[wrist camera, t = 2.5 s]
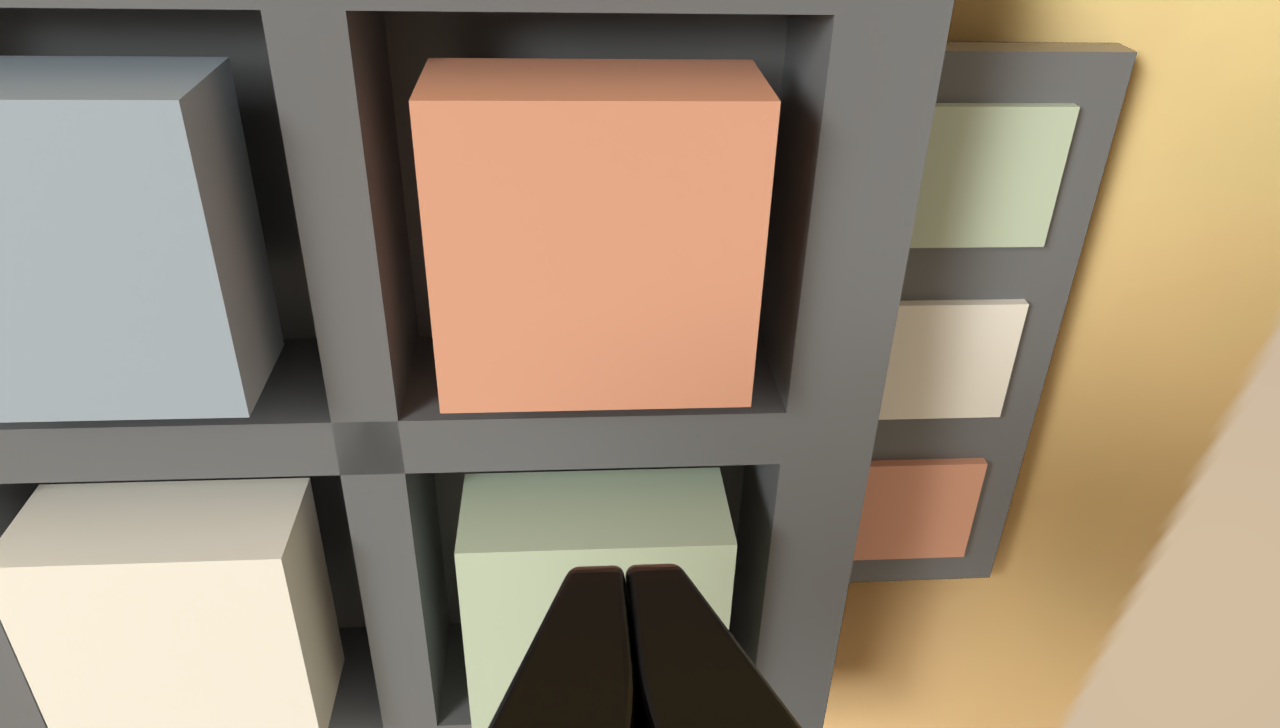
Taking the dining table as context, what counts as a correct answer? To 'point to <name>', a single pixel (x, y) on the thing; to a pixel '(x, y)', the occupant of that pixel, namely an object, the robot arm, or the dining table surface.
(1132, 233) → the dining table surface
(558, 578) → the key sage
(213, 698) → the key offwhite
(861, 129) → the keypad
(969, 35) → the dining table surface
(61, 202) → the key slate
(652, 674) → the robot arm
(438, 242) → the key terracotta
